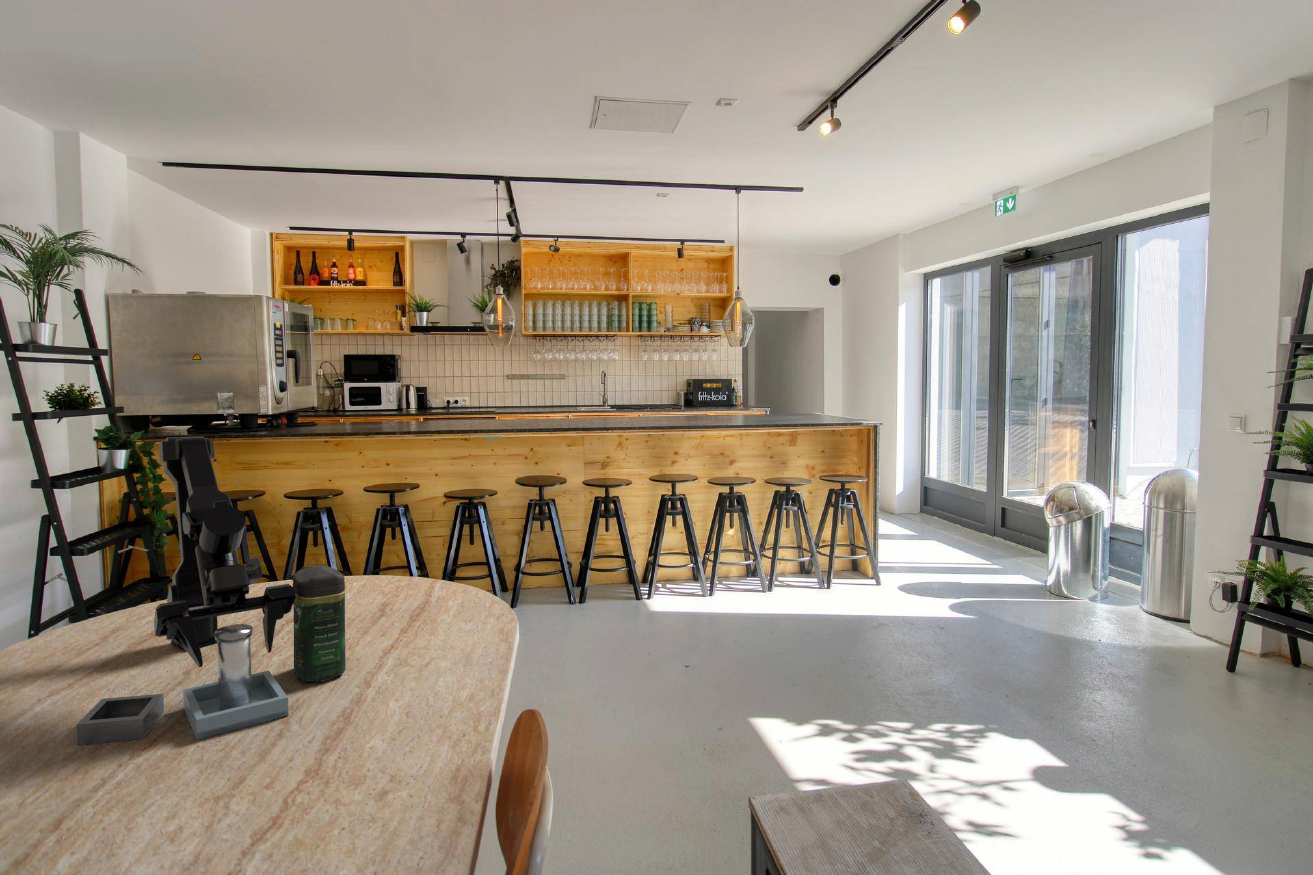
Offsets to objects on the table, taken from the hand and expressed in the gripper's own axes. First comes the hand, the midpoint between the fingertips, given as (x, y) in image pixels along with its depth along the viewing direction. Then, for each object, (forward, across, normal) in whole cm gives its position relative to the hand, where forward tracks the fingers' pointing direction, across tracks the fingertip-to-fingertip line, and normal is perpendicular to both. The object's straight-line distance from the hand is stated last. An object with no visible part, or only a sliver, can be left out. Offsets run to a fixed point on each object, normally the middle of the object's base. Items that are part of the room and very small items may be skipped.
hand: (236, 658), depth 111 cm
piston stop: (+5, 0, +7) cm, 8 cm away
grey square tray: (+2, -14, +10) cm, 17 cm away
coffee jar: (0, +14, +13) cm, 19 cm away
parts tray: (+5, 0, +7) cm, 9 cm away
